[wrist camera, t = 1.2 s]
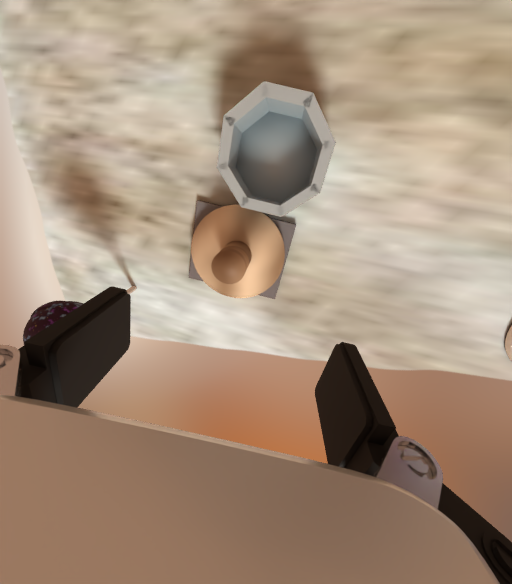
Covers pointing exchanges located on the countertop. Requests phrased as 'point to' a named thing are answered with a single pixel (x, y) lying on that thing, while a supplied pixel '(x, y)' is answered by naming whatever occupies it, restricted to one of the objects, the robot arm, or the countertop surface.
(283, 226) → the mat
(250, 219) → the lid
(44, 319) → the lollipop
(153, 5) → the countertop surface
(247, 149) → the bowl
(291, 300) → the countertop surface
